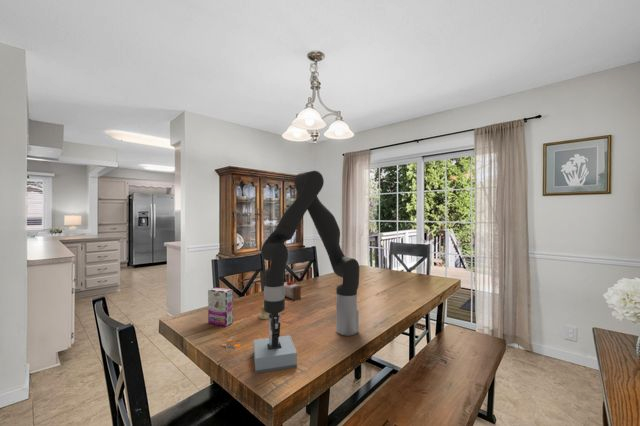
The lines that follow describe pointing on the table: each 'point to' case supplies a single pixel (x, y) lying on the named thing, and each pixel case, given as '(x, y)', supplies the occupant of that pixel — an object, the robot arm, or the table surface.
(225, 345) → the key chain
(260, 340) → the bore block
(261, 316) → the hand bell
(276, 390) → the table surface
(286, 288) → the food item
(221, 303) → the candy bar box
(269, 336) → the pin
